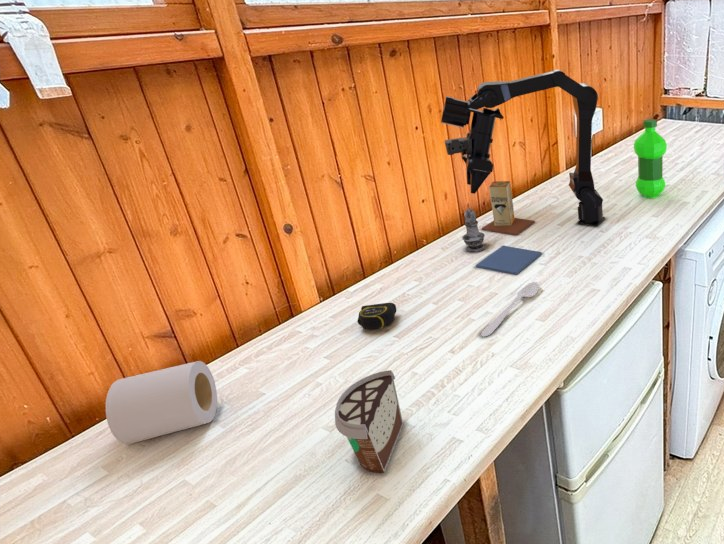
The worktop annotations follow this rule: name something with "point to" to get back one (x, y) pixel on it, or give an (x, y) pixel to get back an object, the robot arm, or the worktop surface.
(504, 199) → the shoe polish box
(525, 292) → the spoon
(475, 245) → the grey chess piece
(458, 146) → the robot arm
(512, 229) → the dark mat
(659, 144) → the plastic bottle
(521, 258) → the blue mat
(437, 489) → the worktop surface
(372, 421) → the food container
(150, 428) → the toilet paper
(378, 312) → the tape measure
